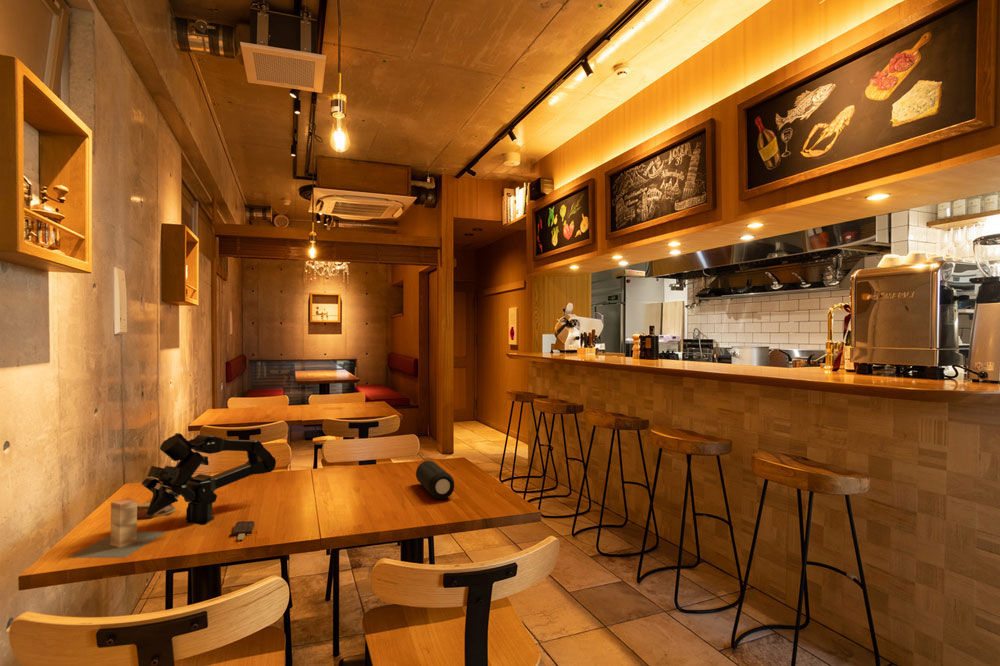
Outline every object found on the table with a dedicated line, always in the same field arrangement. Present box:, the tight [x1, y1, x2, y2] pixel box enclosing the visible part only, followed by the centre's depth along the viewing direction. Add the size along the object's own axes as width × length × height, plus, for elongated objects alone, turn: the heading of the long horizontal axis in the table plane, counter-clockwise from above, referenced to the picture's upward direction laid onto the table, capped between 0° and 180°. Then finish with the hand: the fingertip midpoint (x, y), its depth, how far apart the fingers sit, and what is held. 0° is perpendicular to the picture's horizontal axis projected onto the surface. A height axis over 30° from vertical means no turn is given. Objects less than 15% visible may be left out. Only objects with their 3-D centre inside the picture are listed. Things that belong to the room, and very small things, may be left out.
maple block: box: [110, 497, 138, 548], centre depth 153 cm, size 4×4×12 cm
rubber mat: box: [67, 531, 167, 559], centre depth 153 cm, size 15×19×1 cm
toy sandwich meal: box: [137, 498, 177, 519], centre depth 180 cm, size 12×14×5 cm
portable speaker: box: [415, 460, 456, 500], centre depth 210 cm, size 26×10×10 cm, turn 22°
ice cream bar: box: [231, 520, 255, 542], centre depth 164 cm, size 5×2×15 cm
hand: (147, 514), depth 159 cm, fingers closed
